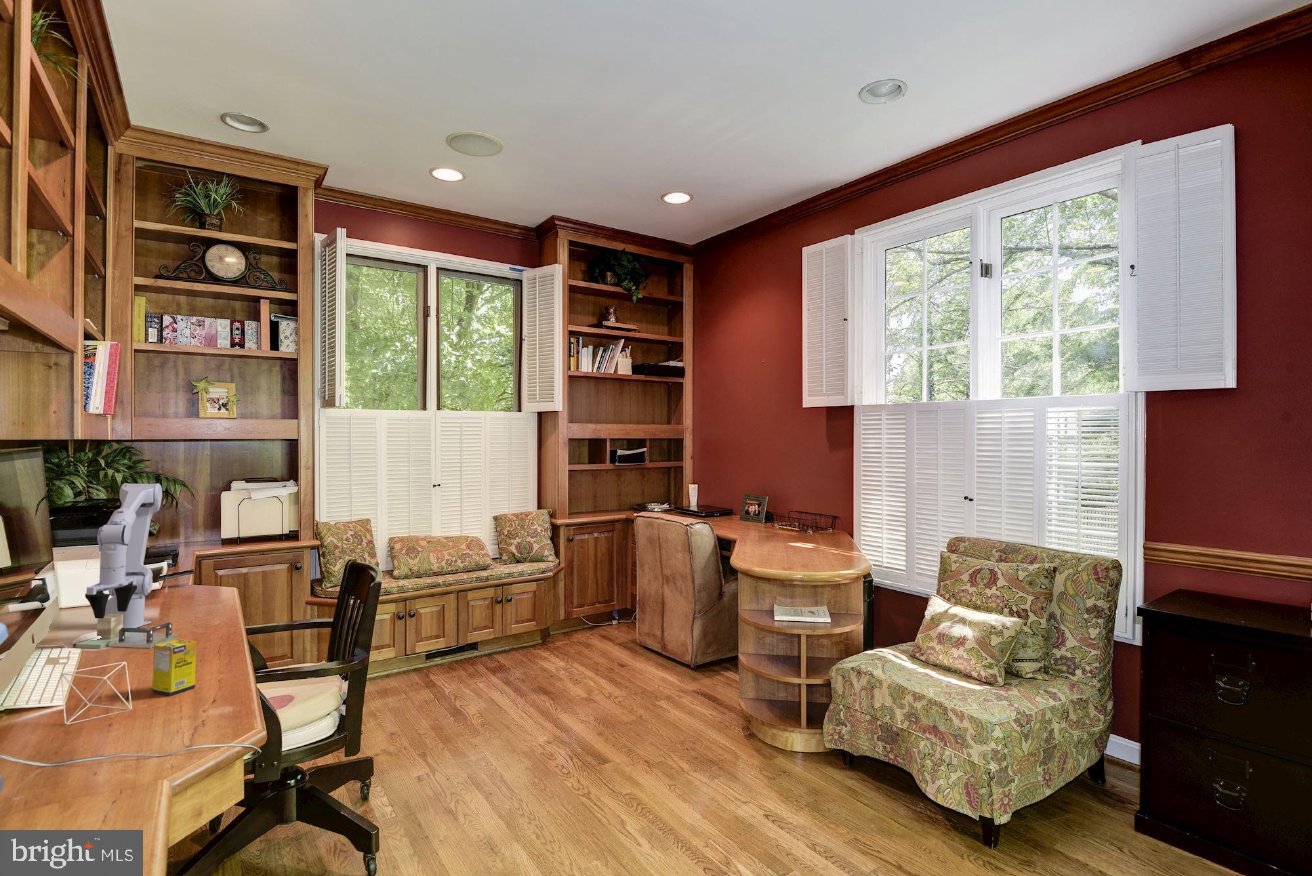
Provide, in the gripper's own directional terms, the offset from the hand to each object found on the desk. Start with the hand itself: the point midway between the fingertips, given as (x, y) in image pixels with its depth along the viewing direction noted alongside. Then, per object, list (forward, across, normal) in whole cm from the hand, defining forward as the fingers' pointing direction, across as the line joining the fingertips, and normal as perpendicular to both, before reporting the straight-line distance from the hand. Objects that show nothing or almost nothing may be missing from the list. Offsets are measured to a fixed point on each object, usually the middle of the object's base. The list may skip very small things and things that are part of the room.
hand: (111, 614), depth 191 cm
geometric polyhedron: (+7, -48, -39) cm, 62 cm away
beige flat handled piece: (+7, +1, -10) cm, 13 cm away
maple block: (+6, 0, 0) cm, 6 cm away
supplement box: (+7, -34, -45) cm, 57 cm away
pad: (+7, 0, 0) cm, 7 cm away
